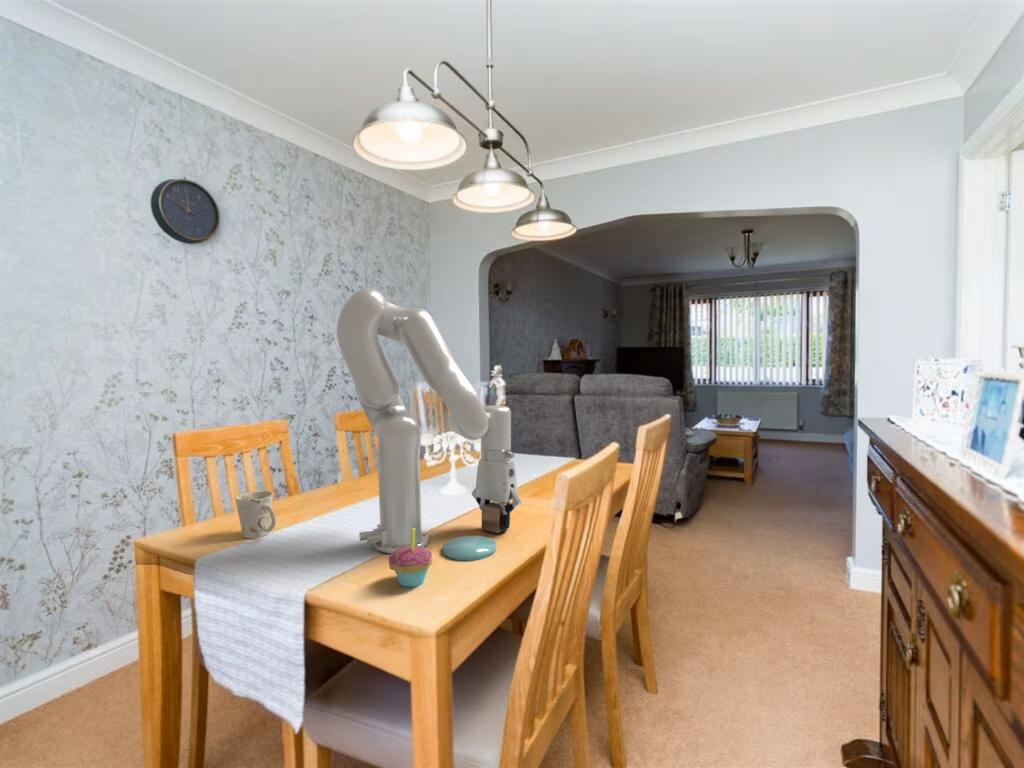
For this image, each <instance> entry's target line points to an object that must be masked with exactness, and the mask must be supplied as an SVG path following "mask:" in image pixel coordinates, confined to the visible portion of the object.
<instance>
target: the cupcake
mask: <svg viewBox="0 0 1024 768" xmlns="http://www.w3.org/2000/svg"><path fill="white" fill-rule="evenodd" d="M414 542H415V528H414V525H413V528H412V532H411V545H404V546H401V547H400V548H398V549H396V550H395V551H394V552H392V553H389V554H390V555H389V556H388V567H389V569H390V570H391V571H394V572H395V574H396V577H397V580H398V582H399V585H400V586H402V587H404V588H414V587H418V586H420V585H422V584H423V583H424V582H425V579H426V575H427V572H428V569H429V567H431V565H432V564H433V554H432V551H431V550H430V549H429V548H427V547H425V546H424V547H423V546H419V545H414Z"/></svg>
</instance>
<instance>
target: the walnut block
mask: <svg viewBox="0 0 1024 768" xmlns="http://www.w3.org/2000/svg"><path fill="white" fill-rule="evenodd" d="M505 505H506V503H505ZM500 514H502V511H501V506H500V502H496V501H491V502H490V503H488V504H485V505H483V506H482V510H481V530H482V531H487V532H491V533H495V534H500V533H501V532H504V531H506V530H508V529H509V528H507V529H505V530H500Z"/></svg>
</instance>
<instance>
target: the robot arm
mask: <svg viewBox="0 0 1024 768" xmlns="http://www.w3.org/2000/svg"><path fill="white" fill-rule="evenodd" d="M338 315H339V316H338V320H337V326H336V338H337V343H338V346H339V349H340V353H341V354H342V357H343V359H344V361H345V364H346V366H347V369H348V372H349V374H350V375H351V378H352V380H353V382H354V392H355V394H356V397H357V400H358V401H359V404H360V405H361V407H362V409H363V412H364V414H365V416H366V418H367V421H368V422H369V424H370V427H371V429H372V431H373V433H374V435H375V437H376V439H377V444H378V445H377V448H378V449H377V452H378V453H377V455H378V456H377V467H378V468H377V473H378V478H377V479H378V496H379V497H378V501H379V503H378V505H379V506H378V507H379V524H377V525H376V528H373V529H372V530H370V531H361V532H360V531H359V533H358V535H359V536H358V537H359V542H361V541H366V543H371V542H373V547H374V549H375V550H376V551H379V552H380V551H381V553H387V554H392V552H394V551H395V550H396V549H398V548H400V547H401V546H404V545H411V532H412V528H413V525H414V528H415V542H414V545H419V546H423V547H425V546H427V545H428V544H429V535H428V534H427V533H426V532H424V531H422V528H423V527H422V500H421V499H422V496H421V491H422V490H421V469H420V467H421V466H420V465H421V464H420V463H421V441H422V434H421V433H422V432H421V427H420V424H419V423H418V420H417V419H416V418H415V417H414V415H412V414H411V413H409V412H408V410H407V408H406V405H405V404H404V402H403V399H402V397H401V394H400V386H399V382H398V380H397V378H396V376H395V375H394V373H393V371H392V368H391V367H390V364H389V363H388V360H387V358H386V356H385V354H384V353H385V352H384V351H383V349H382V346H381V344H380V341H379V337H378V336H382V337H385V338H387V339H390V340H393V341H396V342H399V343H402V344H404V345H405V346H406V349H407V350H408V352H409V354H410V355H411V357H412V359H413V361H414V363H415V364H416V366H417V369H418V370H419V372H420V375H421V376H422V378H423V379H424V381H425V382H426V384H427V385H428V386H429V387H430V388H431V389H433V391H434V392H435V393H436V394H437V395H438V397H440V400H441V401H442V402H443V403H444V405H445V406H446V409H447V410H448V412H449V413H448V416H447V423H448V426H449V428H450V429H451V431H452V432H454V433H455V434H457V435H458V436H460V437H462V438H464V439H466V440H470V441H476V440H479V439H480V459H478V464H477V468H476V469H477V470H476V481H475V488H474V489H473V490H472V491H471V496H472V497H473V498H474V500H475V501H476V503H477V504H478V506H479V509H480V511H482V506H483V505H485V504H488V503H491V502H493V501H494V502H499V503H500V506H501V511H502V514H500V530H504V531H506V530H508V529H510V524H511V513H512V511H514V510H515V509H516V507H518V506H519V505H520V504H521V503H522V499H520V496H519V494H518V481H517V473H516V472H517V471H516V466H515V465H516V464H515V462H514V460H512V459H514V458H515V453H514V452H512V442H511V441H512V412H511V409H510V408H509V406H506V405H497V404H496V405H485V406H483V404H482V402H481V400H480V399H479V397H478V395H477V393H476V391H475V389H474V388H473V386H472V384H471V383H470V382H469V380H468V378H467V377H466V376H465V374H464V373H463V371H462V369H461V368H460V366H459V365H458V364H457V362H456V360H455V358H454V357H453V355H452V352H451V351H450V349H449V347H448V345H447V343H446V342H445V339H444V338H443V337H444V336H442V334H441V332H440V330H439V327H438V325H437V323H436V322H435V320H434V319H433V317H432V315H431V314H430V313H429V312H428V310H425V309H424V308H421V307H412V308H405V307H402V306H400V305H397V304H394V303H391V302H389V301H387V300H386V298H385V296H384V295H383V294H382V292H381V291H379V290H377V289H376V288H372V287H371V288H370V287H365V288H364V287H363V288H360V289H358V290H356V291H355V292H353V294H352V295H351V296H350V297H349V298H348V299H347V301H346V303H345V304H343V306H342V308H341V311H340V313H339V314H338ZM511 500H512V502H511ZM505 504H506V505H505ZM507 528H508V529H507ZM505 529H506V530H505Z"/></svg>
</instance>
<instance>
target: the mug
mask: <svg viewBox="0 0 1024 768" xmlns="http://www.w3.org/2000/svg"><path fill="white" fill-rule="evenodd" d="M273 498H274V493H273V492H272V491H270V490H268V491H267V490H257V491H249V492H245V493H241V494H239V495H237V496H236V497H235V503H236V504H235V505H236V508H237V514H238V519H239V525H240V527H241V533H242V535H241V536H242V538H245V539H258V538H262V537H265V536H267V535H269V534H270V532H271V531H272V530H274V528H275V527H276V523H277V521H276V520H277V518H276V515H275V511H274V509H273Z"/></svg>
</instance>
